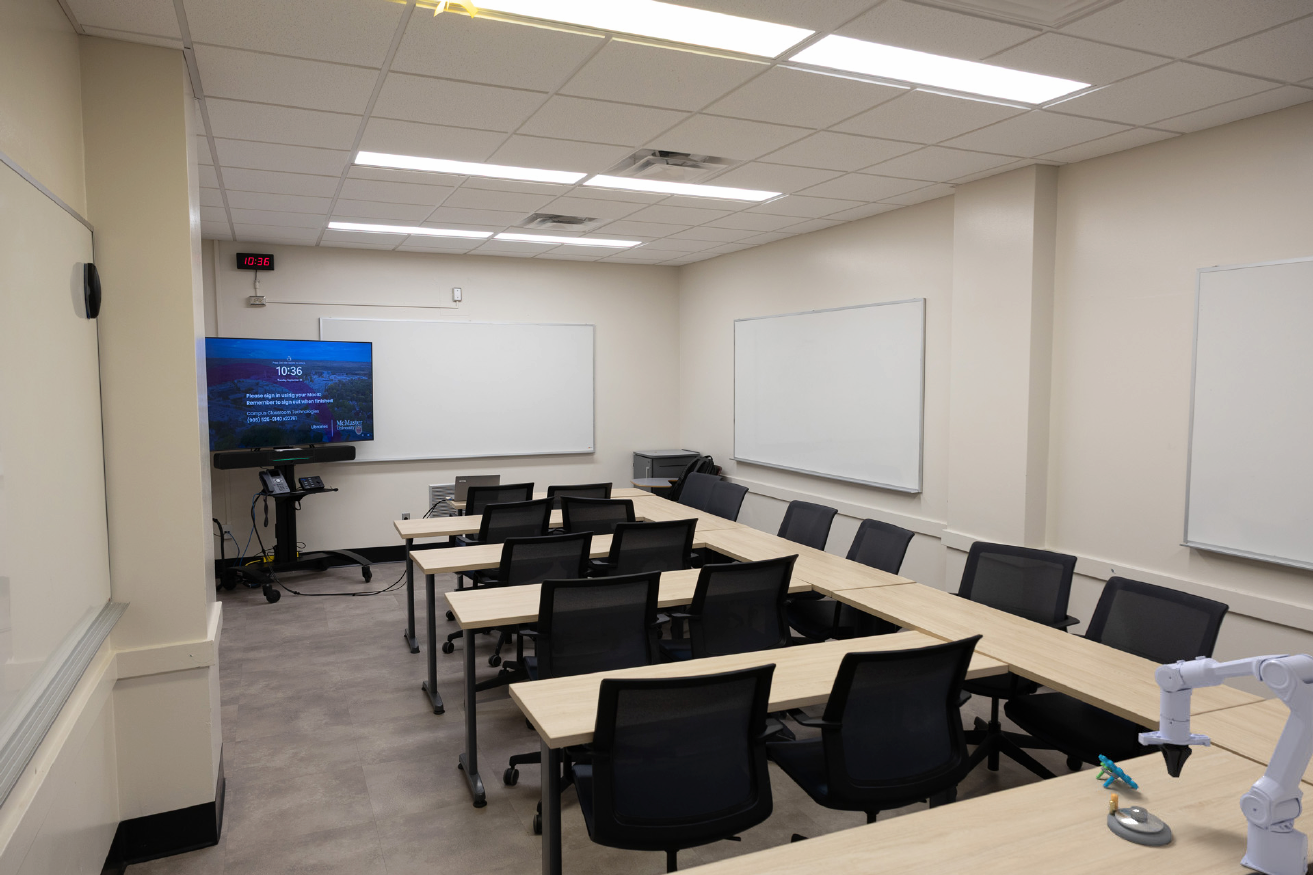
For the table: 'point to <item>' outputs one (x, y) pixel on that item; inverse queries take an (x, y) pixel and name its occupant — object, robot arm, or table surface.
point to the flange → (1137, 818)
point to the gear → (1114, 773)
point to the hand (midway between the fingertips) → (1173, 775)
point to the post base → (1136, 836)
